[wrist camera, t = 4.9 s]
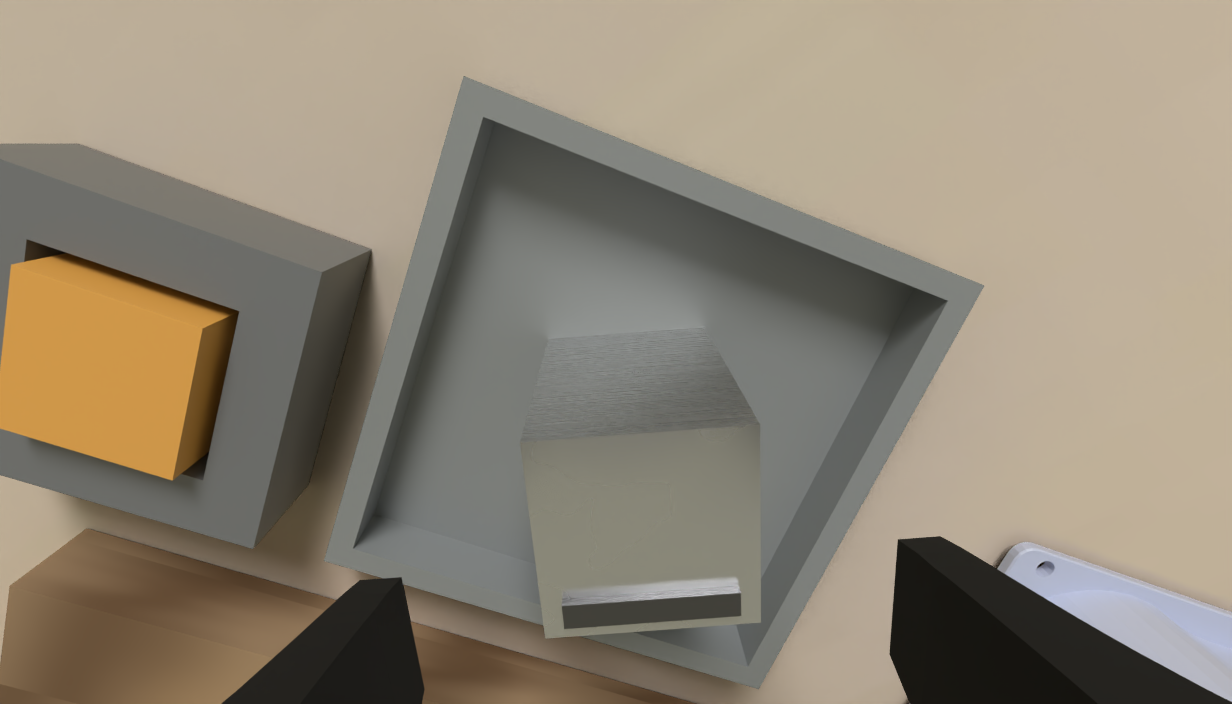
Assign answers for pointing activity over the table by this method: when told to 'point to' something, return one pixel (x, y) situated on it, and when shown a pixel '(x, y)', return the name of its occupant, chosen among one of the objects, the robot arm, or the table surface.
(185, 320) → the button
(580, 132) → the tray
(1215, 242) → the table surface
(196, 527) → the button housing
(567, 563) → the block
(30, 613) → the wooden pocket board
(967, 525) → the table surface
